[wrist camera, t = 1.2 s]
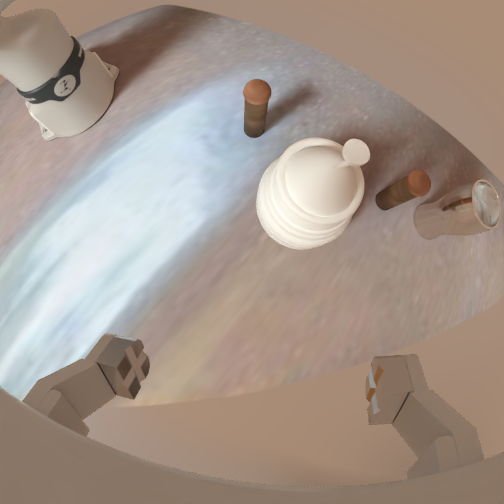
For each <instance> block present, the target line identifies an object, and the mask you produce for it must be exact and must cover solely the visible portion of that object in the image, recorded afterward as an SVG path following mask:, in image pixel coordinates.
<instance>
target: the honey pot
mask: <svg viewBox="0 0 504 504" xmlns="http://www.w3.org/2000/svg"><path fill="white" fill-rule="evenodd" d="M313 146H320V147H313ZM308 147H309V148H308ZM369 158H370V151H369V148H368V147H367V145H366V144H365V143H364V142H363V141H361V140H359V139H350V140H348V141H347V142H346V143H345V145H344V147H343V146H342V145H341V144H338V143H336V142H334V141H332V140H329V139H325V138H320V137H317V138H306V139H303V140H299V141H297V142H296V143H294V144H293V145H291V146H289V147H288V148H287V150H286V151H285V152H284V153H283V154H282V155H281V157H279V158H278V159H276V160H275V161H273V162H272V163H271V165H270V166H269V167H268V168H267V169H266V170H265V172H264V174H263V176H262V179H261V181H260V184H259V188H258V194H257V200H256V207H257V215H258V218H259V220H260V222H261V225H262V227H263V228H264V229H265V231H266V232H267V233H268V235H269V236H270V237H272V238H273V239H274V240H275V241H277V242H278V243H280V244H282V245H284V246H287V247H289V248H294V249H301V250H302V249H310V248H315V247H318V246H320V245H323V244H326V243H328V242H330V241H333V240H334V239H335V238H337V237H338V236H339V235H340V234H342V233H343V231H344V230H345V228H346V227H347V226H348V224H349V223H350V221H351V218H352V215H353V213H354V212H355V211H356V210H357V208H358V207H359V205H360V204H361V201H362V198H363V195H364V183H365V182H364V177H363V173H362V170H361V168H360V166H361V165H364V164H365V163H367V162H368V160H369Z"/></svg>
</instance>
